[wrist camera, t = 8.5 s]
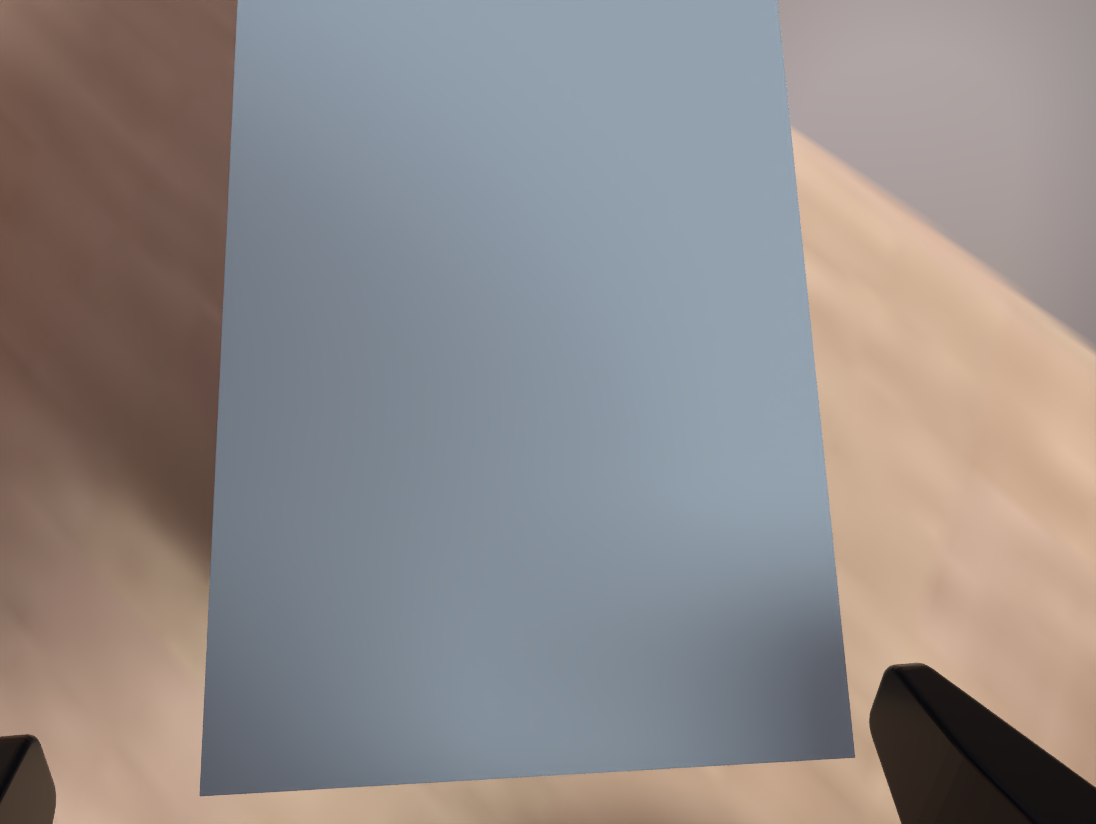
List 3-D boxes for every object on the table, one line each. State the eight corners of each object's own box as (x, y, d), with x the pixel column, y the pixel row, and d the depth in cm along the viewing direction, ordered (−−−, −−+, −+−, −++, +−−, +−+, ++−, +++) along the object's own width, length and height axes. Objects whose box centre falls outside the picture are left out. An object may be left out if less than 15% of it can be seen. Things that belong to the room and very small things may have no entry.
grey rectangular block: (615, 688, 18) (854, 758, 8) (319, 701, 17) (199, 795, 7) (596, 297, 20) (775, -22, 10) (327, 292, 19) (240, -60, 9)
